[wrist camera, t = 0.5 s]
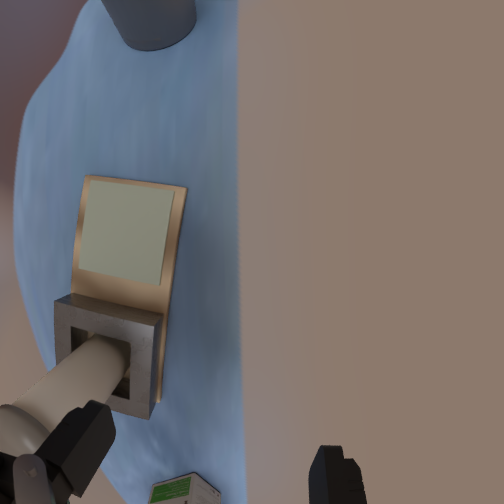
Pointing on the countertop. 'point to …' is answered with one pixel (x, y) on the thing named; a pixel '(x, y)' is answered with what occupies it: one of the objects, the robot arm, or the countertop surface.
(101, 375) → the plug
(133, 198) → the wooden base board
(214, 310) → the countertop surface
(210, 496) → the skincare box
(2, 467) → the robot arm
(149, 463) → the countertop surface
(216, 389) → the countertop surface
